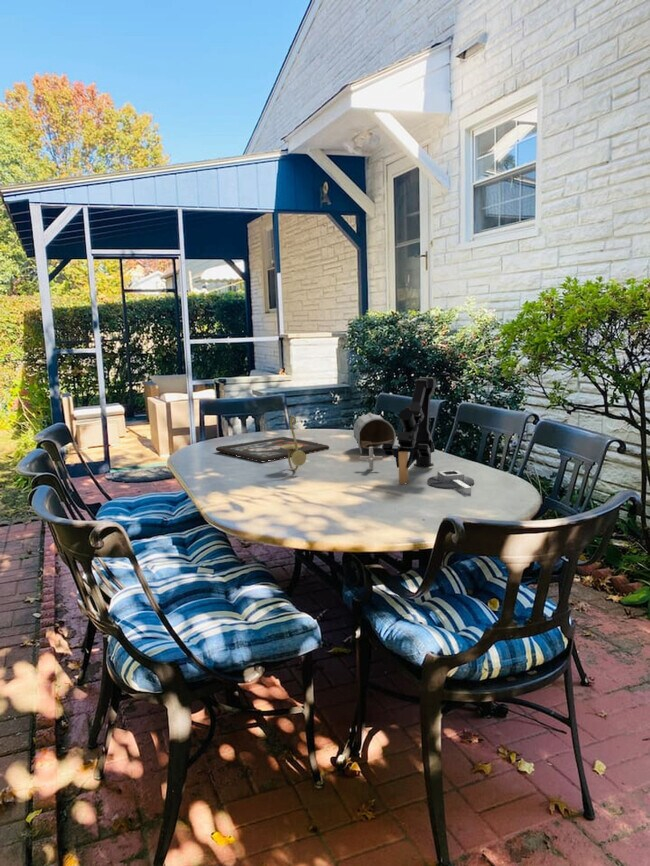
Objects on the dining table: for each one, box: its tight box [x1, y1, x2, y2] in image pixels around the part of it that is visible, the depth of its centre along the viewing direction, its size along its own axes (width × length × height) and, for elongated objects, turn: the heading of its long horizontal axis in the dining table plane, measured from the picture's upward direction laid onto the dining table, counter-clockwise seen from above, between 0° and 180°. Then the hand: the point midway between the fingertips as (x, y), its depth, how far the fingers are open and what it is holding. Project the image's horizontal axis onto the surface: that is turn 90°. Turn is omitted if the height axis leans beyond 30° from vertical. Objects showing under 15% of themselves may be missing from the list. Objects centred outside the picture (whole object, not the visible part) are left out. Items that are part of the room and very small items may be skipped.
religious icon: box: [215, 436, 330, 462], centre depth 331 cm, size 40×45×3 cm
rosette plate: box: [427, 469, 475, 495], centre depth 250 cm, size 27×18×4 cm, turn 10°
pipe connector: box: [359, 447, 384, 471], centre depth 281 cm, size 10×10×10 cm
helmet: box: [353, 412, 397, 455], centre depth 321 cm, size 19×18×30 cm
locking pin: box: [398, 451, 409, 485], centre depth 256 cm, size 4×4×12 cm
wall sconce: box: [281, 414, 307, 472], centre depth 282 cm, size 14×10×25 cm
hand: (402, 467), depth 254 cm, fingers closed on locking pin, 4 cm apart
